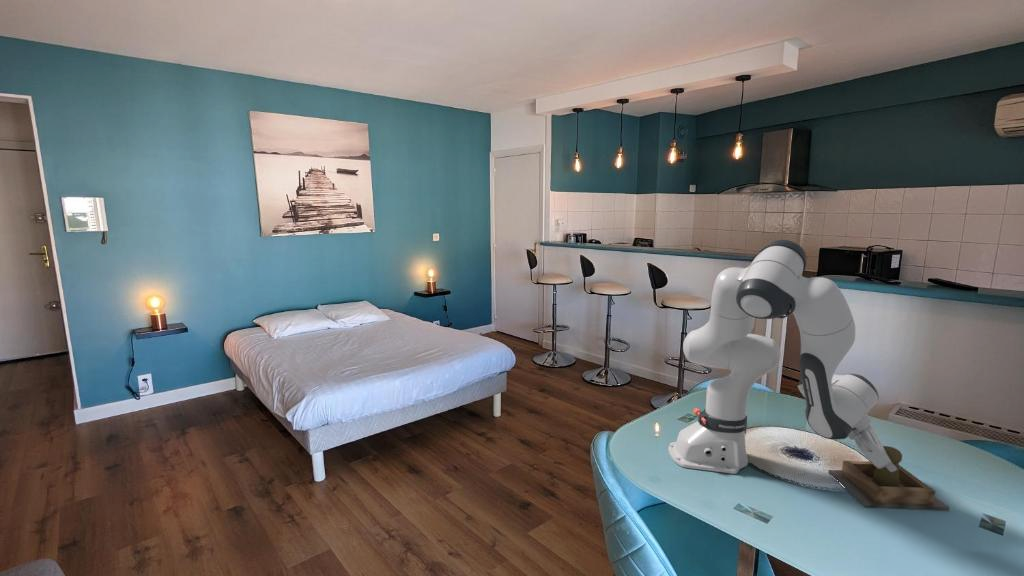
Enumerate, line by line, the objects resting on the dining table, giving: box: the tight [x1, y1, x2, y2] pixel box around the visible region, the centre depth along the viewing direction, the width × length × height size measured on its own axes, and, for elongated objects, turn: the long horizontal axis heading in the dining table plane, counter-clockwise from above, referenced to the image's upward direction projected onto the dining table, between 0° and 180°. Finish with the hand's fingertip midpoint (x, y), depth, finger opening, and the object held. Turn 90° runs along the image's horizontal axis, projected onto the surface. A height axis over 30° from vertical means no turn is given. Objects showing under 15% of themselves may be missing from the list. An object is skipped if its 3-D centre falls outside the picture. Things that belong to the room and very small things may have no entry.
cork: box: [872, 445, 903, 487], centre depth 127 cm, size 6×6×11 cm
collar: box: [827, 460, 950, 512], centre depth 128 cm, size 20×16×4 cm
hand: (890, 463), depth 127 cm, fingers closed on cork, 5 cm apart
